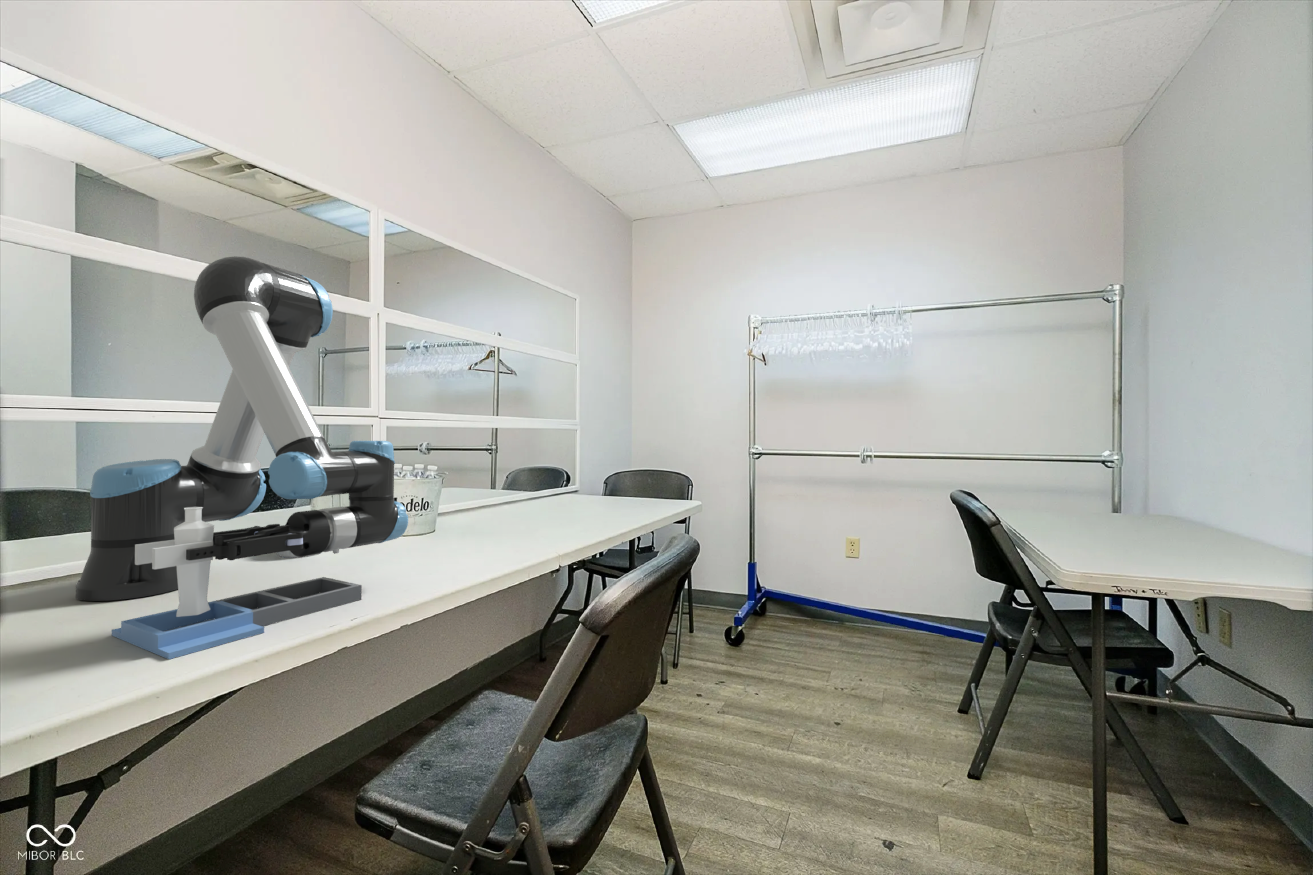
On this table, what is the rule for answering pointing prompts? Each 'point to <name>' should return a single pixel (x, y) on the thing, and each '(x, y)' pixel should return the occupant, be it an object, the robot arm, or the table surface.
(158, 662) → the table surface
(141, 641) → the compartment sorting tray
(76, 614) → the table surface
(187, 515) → the perfume bottle
